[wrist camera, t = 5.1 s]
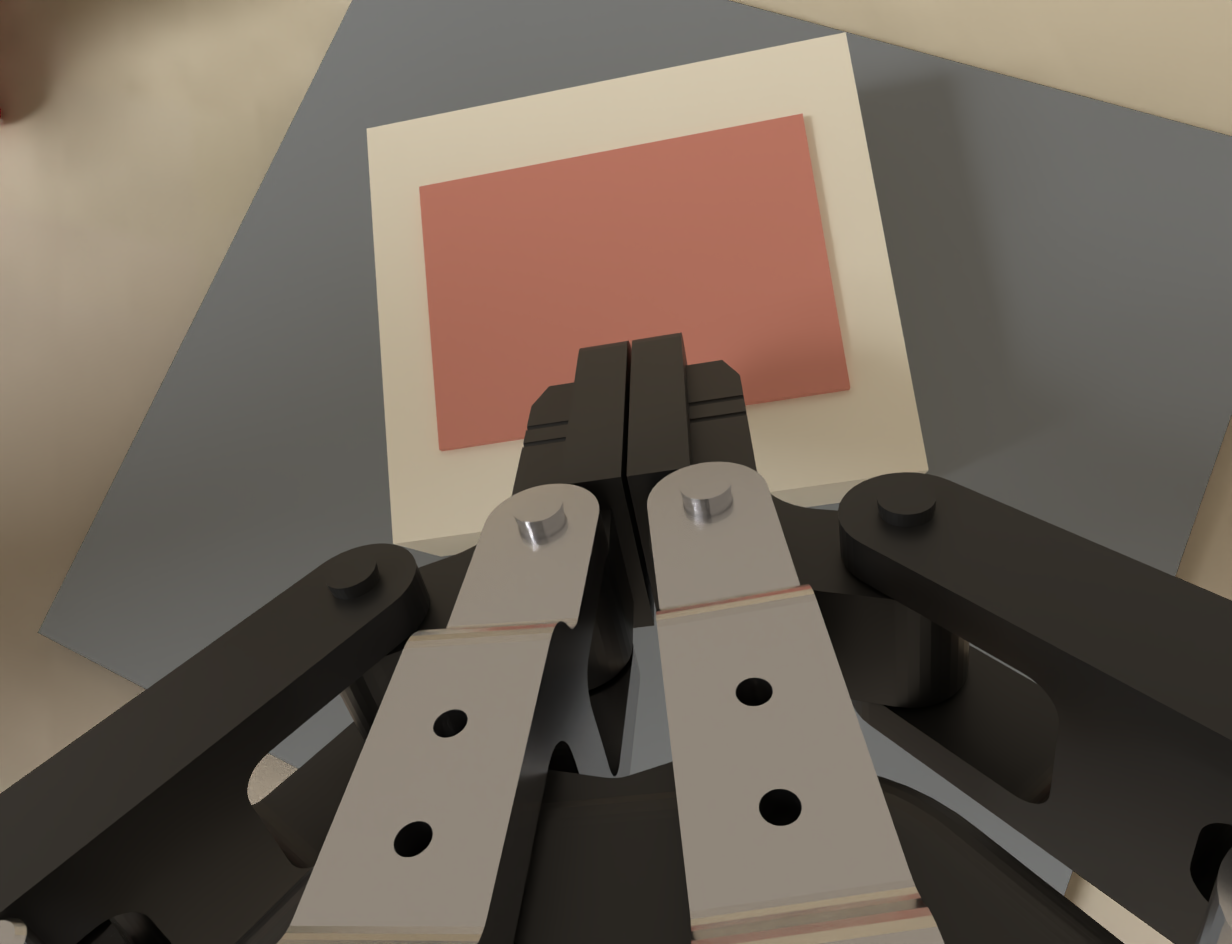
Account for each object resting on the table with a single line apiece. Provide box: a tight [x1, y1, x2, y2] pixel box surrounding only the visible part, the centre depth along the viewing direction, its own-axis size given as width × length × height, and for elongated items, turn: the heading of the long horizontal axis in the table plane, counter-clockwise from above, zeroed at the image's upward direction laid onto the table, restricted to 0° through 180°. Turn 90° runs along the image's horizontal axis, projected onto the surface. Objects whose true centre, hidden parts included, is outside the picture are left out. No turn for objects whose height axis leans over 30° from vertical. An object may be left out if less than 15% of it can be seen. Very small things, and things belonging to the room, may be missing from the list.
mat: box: [38, 0, 1232, 896], centre depth 18 cm, size 20×18×1 cm
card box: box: [367, 32, 929, 557], centre depth 17 cm, size 2×9×8 cm
